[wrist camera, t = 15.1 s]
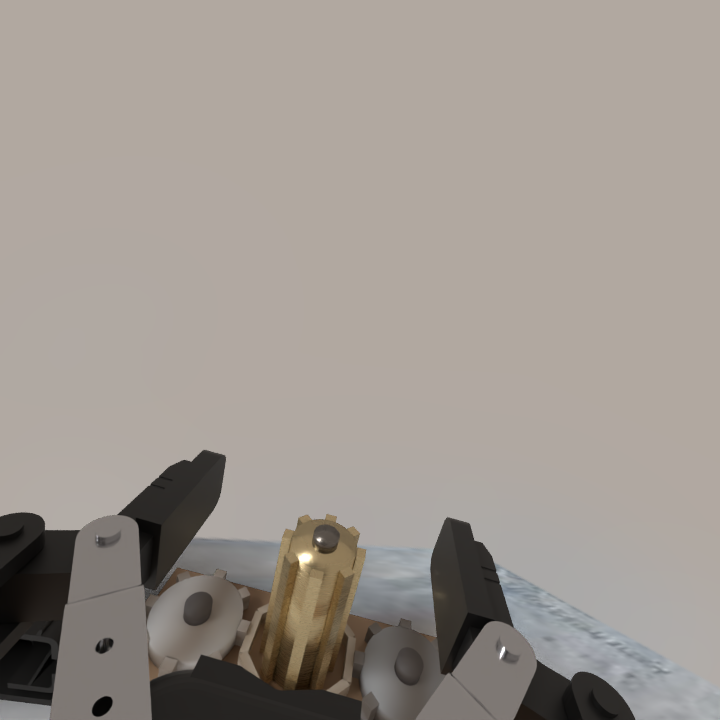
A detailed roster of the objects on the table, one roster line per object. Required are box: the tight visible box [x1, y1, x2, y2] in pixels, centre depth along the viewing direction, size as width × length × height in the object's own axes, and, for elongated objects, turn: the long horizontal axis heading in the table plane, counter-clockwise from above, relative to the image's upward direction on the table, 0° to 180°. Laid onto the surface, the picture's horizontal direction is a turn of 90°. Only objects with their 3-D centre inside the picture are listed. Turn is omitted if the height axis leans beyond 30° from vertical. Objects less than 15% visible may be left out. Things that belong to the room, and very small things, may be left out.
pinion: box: [259, 514, 366, 690], centre depth 27 cm, size 6×6×12 cm
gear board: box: [145, 568, 446, 720], centre depth 28 cm, size 25×9×4 cm, turn 84°
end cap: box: [0, 620, 63, 705], centre depth 26 cm, size 10×7×7 cm
